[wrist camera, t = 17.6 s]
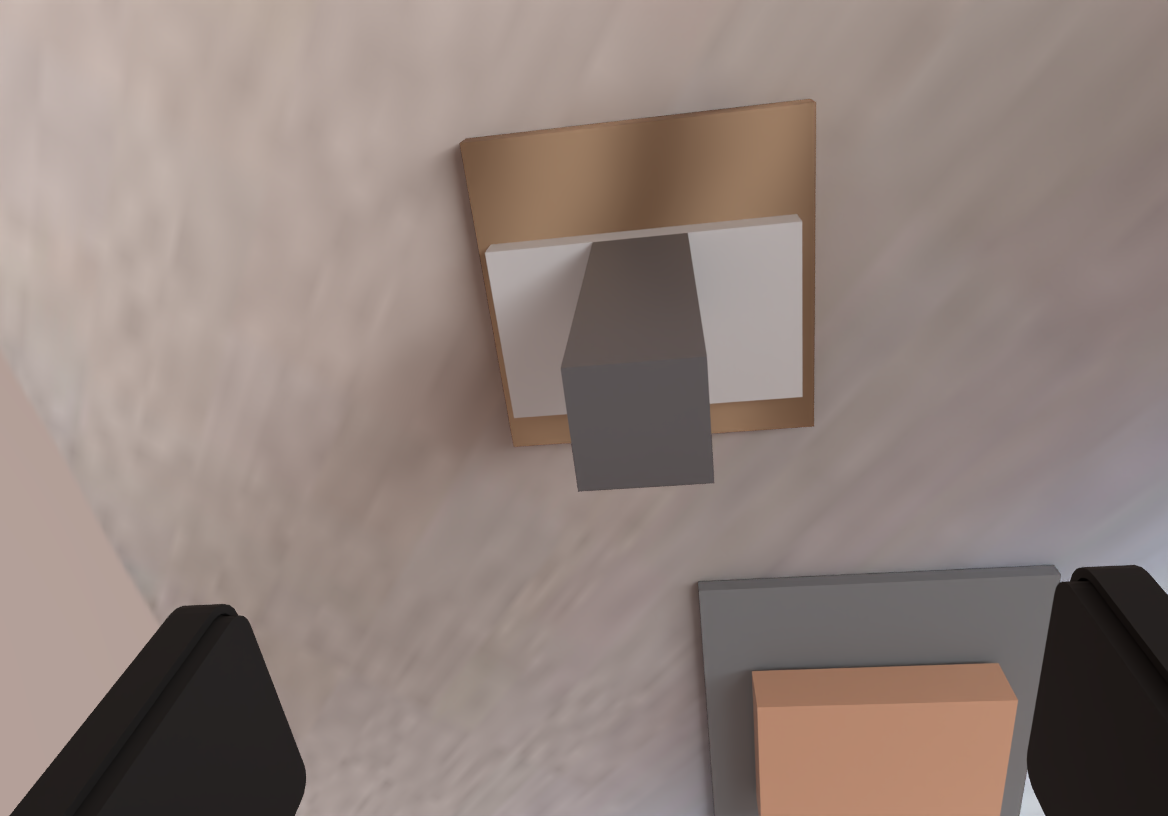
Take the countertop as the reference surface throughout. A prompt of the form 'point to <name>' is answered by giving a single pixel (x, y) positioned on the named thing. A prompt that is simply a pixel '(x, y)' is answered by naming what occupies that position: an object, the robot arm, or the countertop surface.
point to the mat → (866, 647)
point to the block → (882, 740)
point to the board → (652, 208)
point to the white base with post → (649, 338)
